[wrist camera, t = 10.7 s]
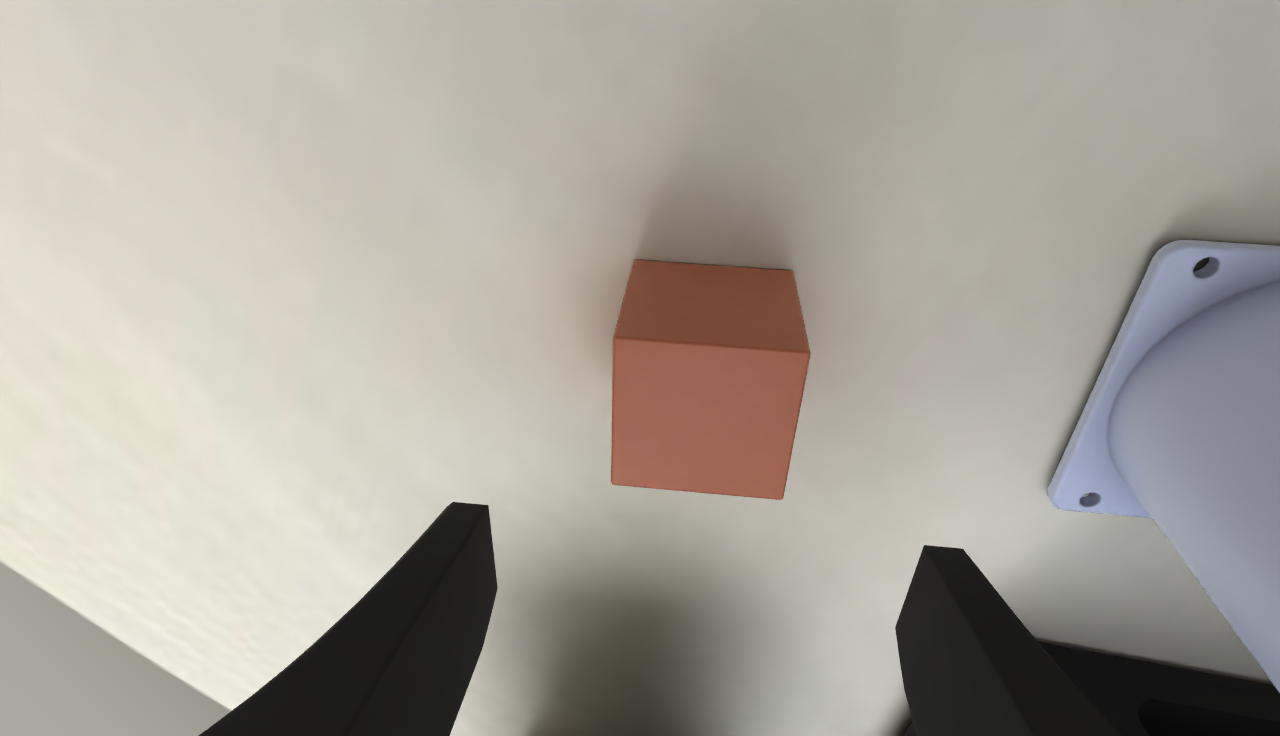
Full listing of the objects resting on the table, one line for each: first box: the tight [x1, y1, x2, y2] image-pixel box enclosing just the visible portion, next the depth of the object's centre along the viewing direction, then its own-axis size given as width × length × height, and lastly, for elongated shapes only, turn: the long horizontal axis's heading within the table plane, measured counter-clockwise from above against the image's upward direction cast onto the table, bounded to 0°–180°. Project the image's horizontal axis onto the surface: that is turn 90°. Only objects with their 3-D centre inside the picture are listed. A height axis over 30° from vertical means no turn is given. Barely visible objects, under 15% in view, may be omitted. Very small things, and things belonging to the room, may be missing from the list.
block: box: [611, 260, 810, 500], centre depth 17 cm, size 4×4×4 cm
